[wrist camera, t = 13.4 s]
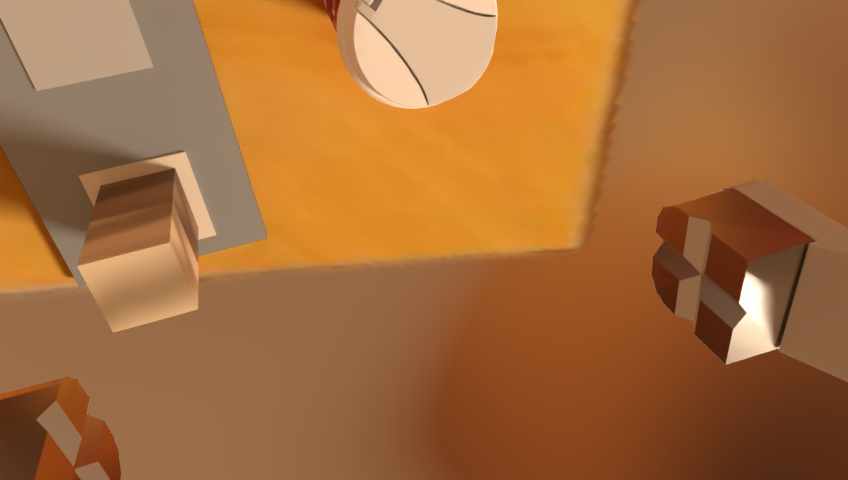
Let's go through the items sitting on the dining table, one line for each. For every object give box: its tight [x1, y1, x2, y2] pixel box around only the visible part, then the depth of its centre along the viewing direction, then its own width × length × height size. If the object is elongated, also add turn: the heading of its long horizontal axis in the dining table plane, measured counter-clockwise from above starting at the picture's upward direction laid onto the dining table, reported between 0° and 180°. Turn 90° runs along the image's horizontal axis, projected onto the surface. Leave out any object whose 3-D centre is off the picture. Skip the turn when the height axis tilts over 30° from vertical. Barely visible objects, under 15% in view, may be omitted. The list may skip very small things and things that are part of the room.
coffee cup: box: [322, 0, 498, 109], centre depth 35 cm, size 8×8×15 cm
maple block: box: [77, 202, 198, 332], centre depth 38 cm, size 5×5×5 cm
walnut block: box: [90, 168, 198, 262], centre depth 42 cm, size 5×5×5 cm
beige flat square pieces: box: [0, 0, 267, 287], centre depth 41 cm, size 22×14×1 cm, turn 7°
